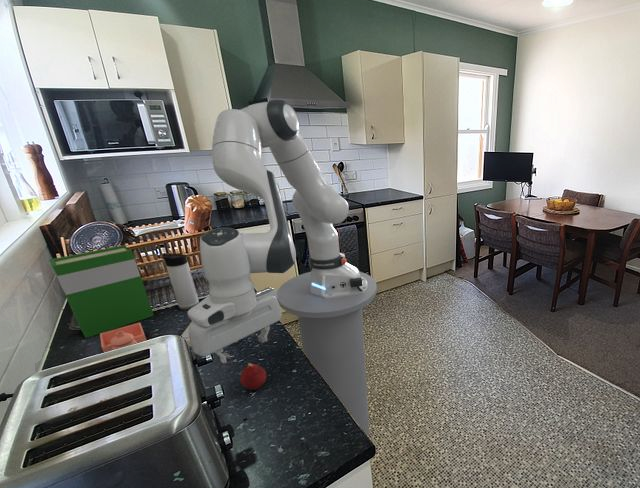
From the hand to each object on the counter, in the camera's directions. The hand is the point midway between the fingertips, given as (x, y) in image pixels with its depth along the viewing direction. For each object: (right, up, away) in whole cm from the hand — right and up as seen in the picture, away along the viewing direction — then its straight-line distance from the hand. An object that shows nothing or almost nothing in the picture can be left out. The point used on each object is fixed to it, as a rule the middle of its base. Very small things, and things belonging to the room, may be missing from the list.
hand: (245, 351), depth 83 cm
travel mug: (-43, +7, +42) cm, 60 cm away
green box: (-58, +2, +31) cm, 66 cm away
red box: (-43, -5, +17) cm, 46 cm away
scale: (-24, 0, +28) cm, 37 cm away
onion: (0, -11, +5) cm, 12 cm away
